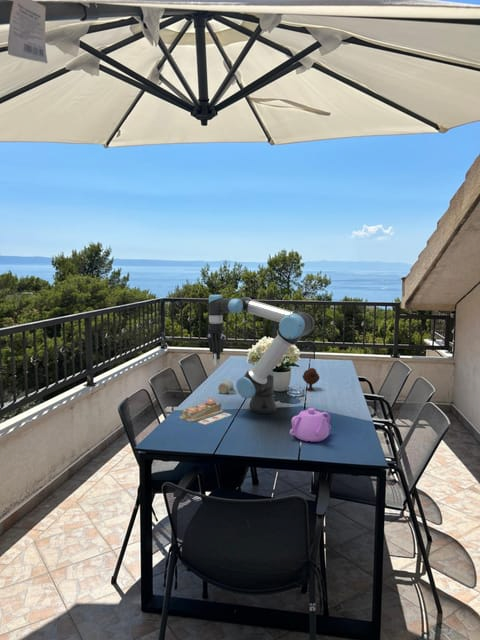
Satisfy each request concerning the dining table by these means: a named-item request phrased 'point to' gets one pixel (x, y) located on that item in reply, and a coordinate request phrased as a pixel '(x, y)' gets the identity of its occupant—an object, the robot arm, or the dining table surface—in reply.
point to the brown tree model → (311, 378)
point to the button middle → (201, 406)
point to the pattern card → (214, 418)
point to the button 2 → (210, 402)
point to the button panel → (201, 412)
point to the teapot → (310, 425)
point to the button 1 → (192, 409)
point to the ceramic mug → (226, 387)
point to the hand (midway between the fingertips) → (216, 365)
